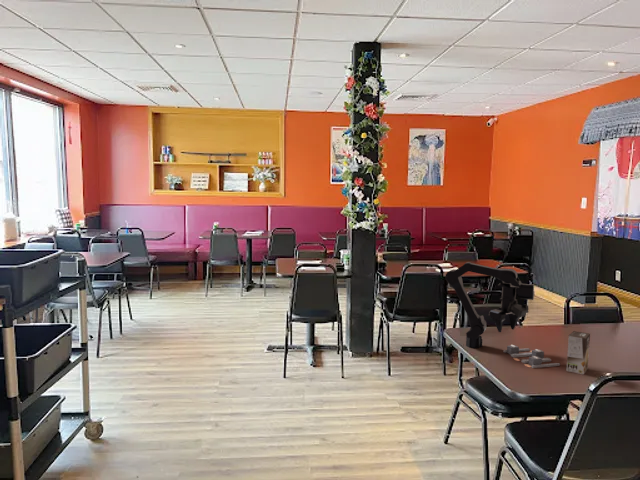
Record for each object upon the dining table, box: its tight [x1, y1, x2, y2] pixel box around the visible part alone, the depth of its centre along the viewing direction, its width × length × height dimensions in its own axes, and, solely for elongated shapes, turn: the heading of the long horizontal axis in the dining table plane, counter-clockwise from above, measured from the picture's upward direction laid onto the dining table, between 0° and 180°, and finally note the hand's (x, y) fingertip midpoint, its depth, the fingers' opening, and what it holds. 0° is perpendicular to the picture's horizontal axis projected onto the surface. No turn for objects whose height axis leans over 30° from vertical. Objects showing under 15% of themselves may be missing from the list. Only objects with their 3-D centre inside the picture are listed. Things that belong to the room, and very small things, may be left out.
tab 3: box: [528, 356, 543, 366], centre depth 194 cm, size 4×3×4 cm
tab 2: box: [530, 348, 545, 358], centre depth 202 cm, size 4×3×4 cm
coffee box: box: [565, 330, 591, 375], centre depth 189 cm, size 9×6×16 cm
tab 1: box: [506, 344, 520, 356], centre depth 208 cm, size 4×3×4 cm
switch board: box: [503, 348, 561, 369], centre depth 202 cm, size 16×20×2 cm
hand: (506, 330), depth 210 cm, fingers open, 9 cm apart
